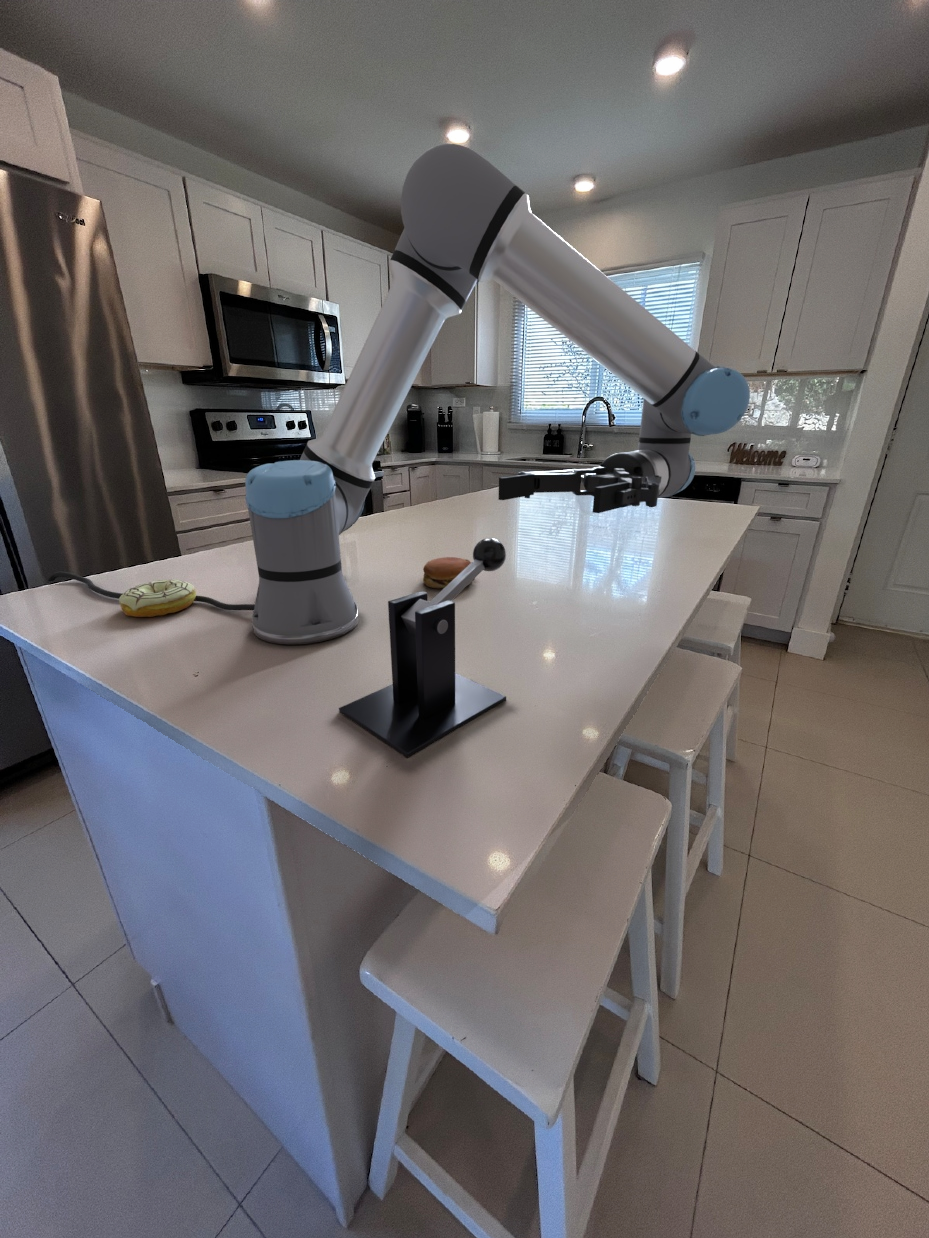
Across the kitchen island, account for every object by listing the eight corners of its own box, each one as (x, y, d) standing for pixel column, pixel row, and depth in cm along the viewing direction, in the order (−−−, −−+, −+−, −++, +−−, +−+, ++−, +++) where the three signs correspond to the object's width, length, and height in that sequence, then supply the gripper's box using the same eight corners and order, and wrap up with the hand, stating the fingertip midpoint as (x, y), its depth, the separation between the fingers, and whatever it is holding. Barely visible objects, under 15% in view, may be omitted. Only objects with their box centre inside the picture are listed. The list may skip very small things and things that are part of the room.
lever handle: (491, 555, 58) (482, 529, 56) (515, 561, 56) (508, 534, 54) (407, 635, 52) (393, 609, 50) (430, 646, 50) (418, 619, 47)
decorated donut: (115, 608, 84) (109, 586, 82) (185, 593, 91) (180, 573, 89) (132, 625, 77) (126, 601, 75) (206, 608, 84) (202, 586, 82)
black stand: (437, 674, 63) (435, 575, 58) (506, 708, 56) (510, 597, 51) (339, 720, 53) (328, 605, 48) (407, 767, 46) (402, 638, 41)
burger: (414, 581, 98) (413, 557, 96) (453, 573, 103) (453, 550, 101) (443, 595, 90) (443, 570, 88) (484, 585, 95) (484, 561, 94)
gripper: (715, 515, 67) (641, 542, 53) (557, 496, 83) (468, 513, 69) (725, 455, 64) (651, 467, 50) (560, 448, 81) (468, 455, 66)
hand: (545, 494), depth 60 cm, fingers open, 13 cm apart
